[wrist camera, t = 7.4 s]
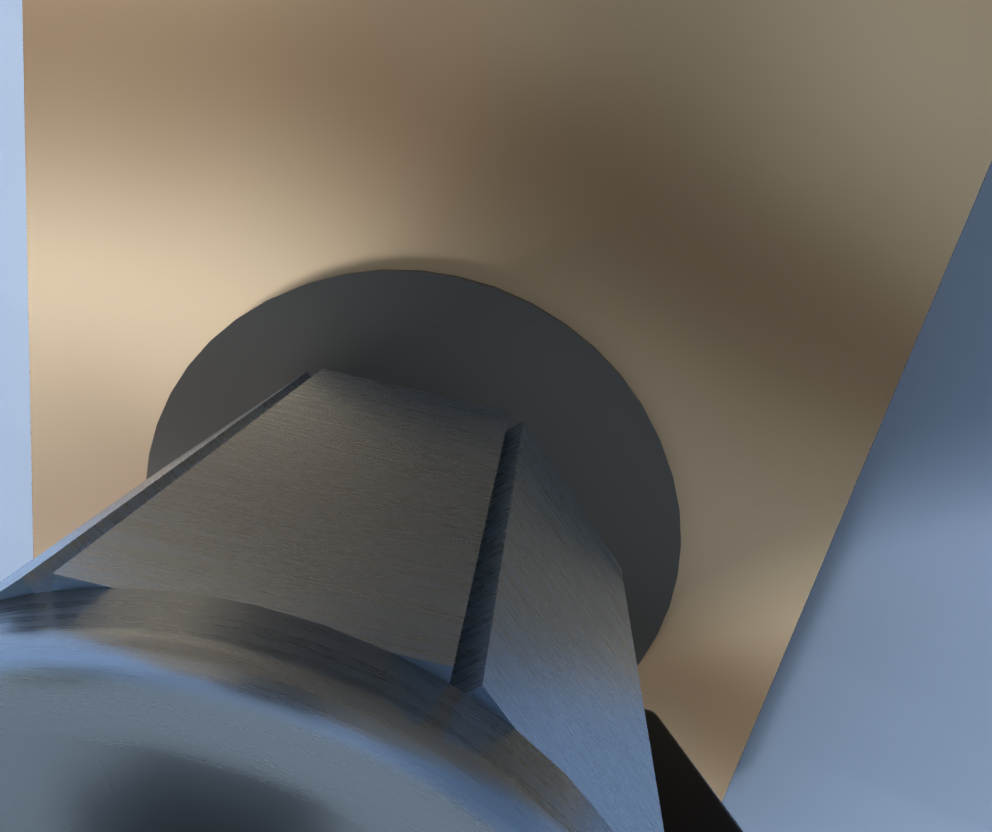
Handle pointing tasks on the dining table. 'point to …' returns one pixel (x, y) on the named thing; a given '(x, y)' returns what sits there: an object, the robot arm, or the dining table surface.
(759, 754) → the dining table surface
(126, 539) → the cap
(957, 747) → the dining table surface
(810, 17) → the board
